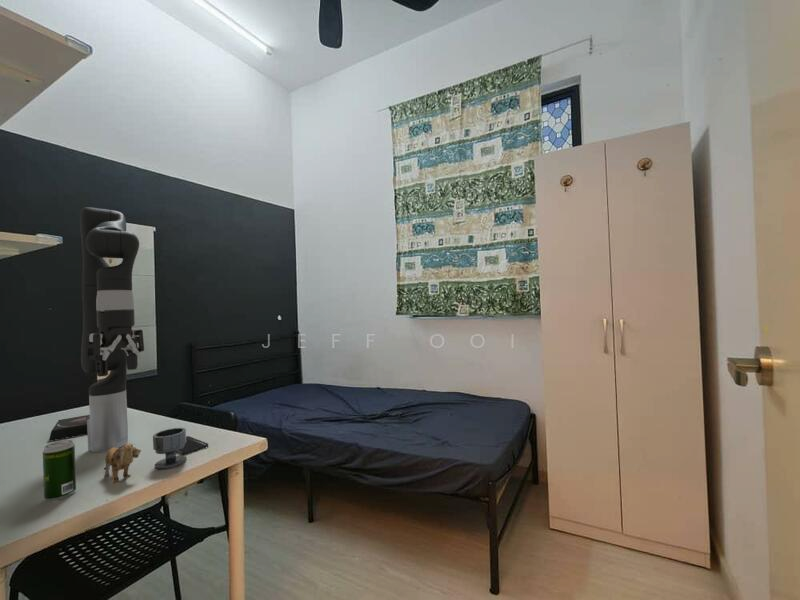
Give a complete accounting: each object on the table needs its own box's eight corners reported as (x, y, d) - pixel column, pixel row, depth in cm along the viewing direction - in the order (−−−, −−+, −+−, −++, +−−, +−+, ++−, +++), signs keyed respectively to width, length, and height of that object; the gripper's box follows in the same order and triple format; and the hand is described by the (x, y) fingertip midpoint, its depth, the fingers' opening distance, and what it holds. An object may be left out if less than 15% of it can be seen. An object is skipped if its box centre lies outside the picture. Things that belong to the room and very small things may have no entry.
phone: (187, 435, 119) (209, 444, 110) (187, 439, 119) (209, 447, 110) (160, 443, 112) (181, 453, 103) (160, 447, 112) (181, 457, 103)
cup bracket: (147, 469, 95) (146, 437, 95) (168, 457, 103) (167, 427, 103) (173, 469, 94) (171, 437, 94) (192, 457, 102) (191, 427, 102)
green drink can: (82, 490, 86) (80, 439, 86) (58, 502, 80) (56, 448, 80) (62, 489, 86) (60, 439, 86) (37, 502, 81) (35, 448, 81)
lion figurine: (144, 477, 91) (143, 441, 91) (120, 486, 86) (118, 449, 86) (115, 467, 98) (114, 434, 98) (91, 475, 93) (90, 441, 93)
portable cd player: (56, 431, 136) (56, 420, 136) (114, 420, 146) (114, 410, 146) (49, 442, 122) (49, 431, 123) (113, 430, 133) (112, 419, 133)
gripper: (125, 309, 99) (127, 368, 98) (74, 309, 84) (76, 378, 84) (151, 307, 98) (153, 367, 98) (103, 308, 84) (106, 378, 83)
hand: (117, 372), depth 91 cm, fingers open, 8 cm apart
